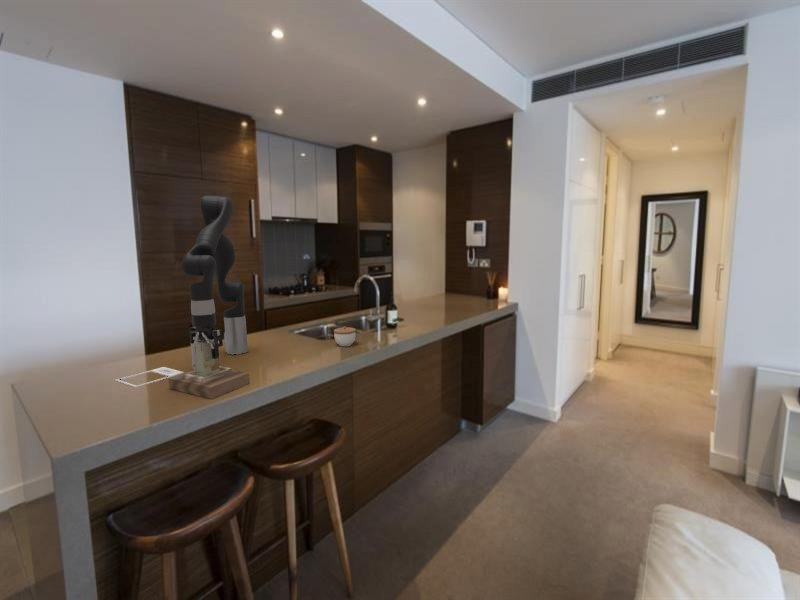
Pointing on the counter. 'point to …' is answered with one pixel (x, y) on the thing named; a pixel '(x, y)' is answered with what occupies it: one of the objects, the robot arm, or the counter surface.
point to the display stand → (209, 382)
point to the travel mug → (193, 352)
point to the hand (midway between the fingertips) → (207, 356)
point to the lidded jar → (344, 336)
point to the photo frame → (161, 371)
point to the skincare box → (205, 360)
